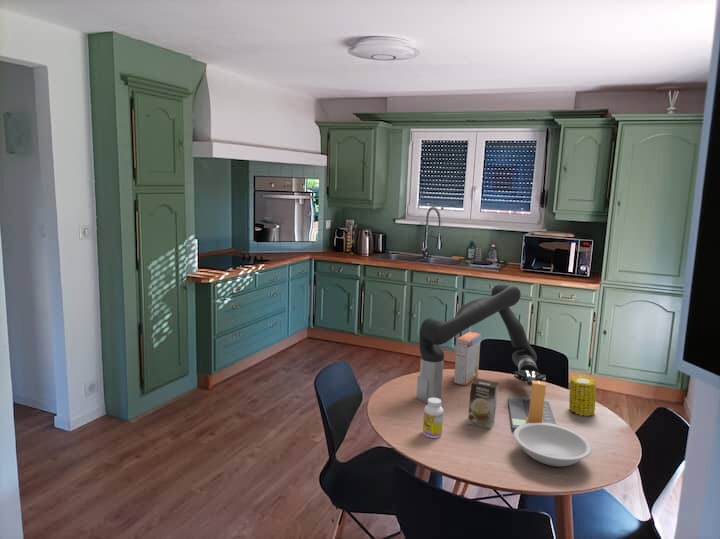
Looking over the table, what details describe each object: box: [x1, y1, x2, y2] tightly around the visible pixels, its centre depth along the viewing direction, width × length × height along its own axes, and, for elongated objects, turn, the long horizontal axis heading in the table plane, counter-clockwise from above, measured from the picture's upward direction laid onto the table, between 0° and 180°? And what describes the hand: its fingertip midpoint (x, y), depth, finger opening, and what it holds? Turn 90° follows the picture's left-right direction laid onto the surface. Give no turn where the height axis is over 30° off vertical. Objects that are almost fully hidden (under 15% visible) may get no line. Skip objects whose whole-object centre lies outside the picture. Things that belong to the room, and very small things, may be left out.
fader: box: [526, 380, 547, 423], centre depth 189 cm, size 4×6×16 cm
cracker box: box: [453, 331, 482, 386], centre depth 233 cm, size 14×6×21 cm, turn 144°
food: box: [568, 374, 597, 417], centre depth 206 cm, size 15×12×10 cm
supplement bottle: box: [422, 398, 444, 439], centre depth 182 cm, size 7×7×13 cm
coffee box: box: [467, 377, 499, 430], centre depth 192 cm, size 9×6×16 cm
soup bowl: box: [513, 423, 593, 467], centre depth 170 cm, size 24×24×7 cm
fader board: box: [507, 396, 557, 433], centre depth 200 cm, size 28×16×4 cm, turn 168°
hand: (532, 384), depth 204 cm, fingers closed
